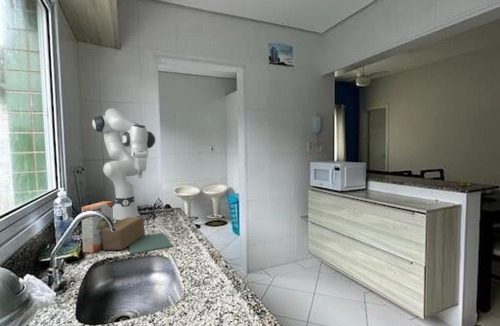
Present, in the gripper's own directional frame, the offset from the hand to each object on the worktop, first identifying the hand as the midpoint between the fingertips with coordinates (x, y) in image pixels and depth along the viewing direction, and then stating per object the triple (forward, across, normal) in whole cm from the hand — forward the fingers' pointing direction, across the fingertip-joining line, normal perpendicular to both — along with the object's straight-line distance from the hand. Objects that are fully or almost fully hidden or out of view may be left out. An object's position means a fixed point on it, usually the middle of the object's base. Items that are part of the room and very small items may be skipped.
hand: (140, 177), depth 150 cm
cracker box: (+30, +19, -21) cm, 42 cm away
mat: (+30, +25, 0) cm, 39 cm away
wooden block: (+24, +12, -4) cm, 27 cm away
